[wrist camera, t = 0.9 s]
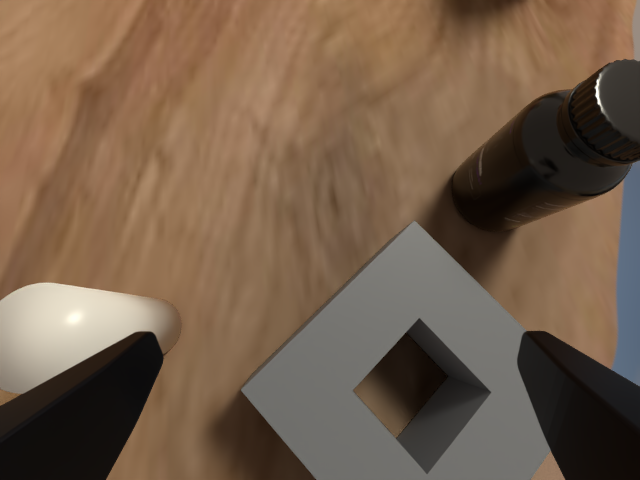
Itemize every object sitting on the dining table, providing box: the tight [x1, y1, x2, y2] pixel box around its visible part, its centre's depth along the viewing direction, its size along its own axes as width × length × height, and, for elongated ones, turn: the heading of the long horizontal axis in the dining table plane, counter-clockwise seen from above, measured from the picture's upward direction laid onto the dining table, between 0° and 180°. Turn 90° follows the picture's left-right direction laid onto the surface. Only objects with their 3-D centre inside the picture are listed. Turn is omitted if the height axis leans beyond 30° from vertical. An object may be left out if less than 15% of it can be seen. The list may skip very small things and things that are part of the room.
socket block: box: [241, 220, 551, 480], centre depth 20 cm, size 14×14×5 cm
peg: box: [0, 283, 181, 394], centre depth 17 cm, size 4×4×10 cm
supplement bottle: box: [452, 59, 640, 232], centre depth 20 cm, size 7×7×12 cm
